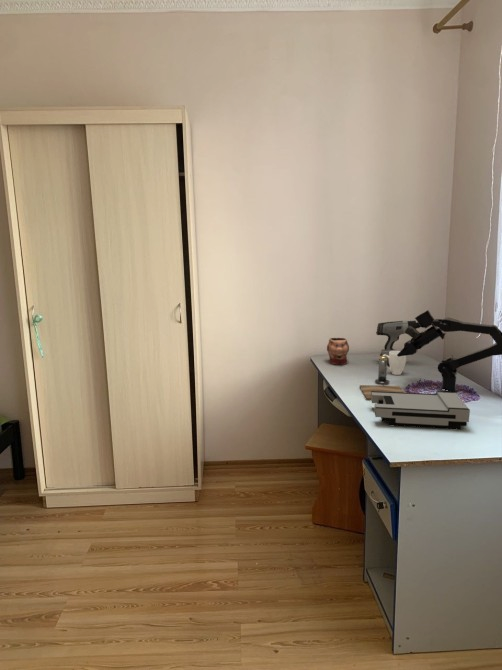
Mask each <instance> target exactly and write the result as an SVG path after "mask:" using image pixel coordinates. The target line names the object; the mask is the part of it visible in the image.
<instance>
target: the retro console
mask: <svg viewBox="0 0 502 670" xmlns="http://www.w3.org/2000/svg"><path fill="white" fill-rule="evenodd" d="M370 402H371V404H374V411H373V413H374V416H375V418H380V419H381V422H383V423H384V422H387V424H388V426H389V425H394V426H393V427H402V428H403V427H404V428H407V427H408V428H422V429H424V428H425V429H441V430H442V429H443V430H455V431H456V430H457V431H458V430H461V429H462V428H461V427H467V426H468V424H467V423H469V422H470V413H471V409H470V408H469V407H468V406H467V404H465V403H464V401H463V400H462V399H461V398H460V397H459V395H458V394H457V393H456V391H443V390H441V391H439V390H437V391H436V393H422V392H421V393H419V392H417V393H416V392H405V393H401V392H379V391H371V400H370Z"/></svg>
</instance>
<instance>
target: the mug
mask: <svg viewBox="0 0 502 670" xmlns="http://www.w3.org/2000/svg"><path fill="white" fill-rule="evenodd" d="M400 351H401V350H397V351H390V352H389V356H388V355H383V356H387V357H388V359H389V365H390V366H387V370H390V372H391V374H392V375H393V376H394V375H395V376H401V374H402V373H403V370H404V368H405V366H406V362H407V355H406V356H400V357H398V356H397V354H398V353H399V352H400Z"/></svg>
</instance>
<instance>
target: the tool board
mask: <svg viewBox="0 0 502 670" xmlns="http://www.w3.org/2000/svg"><path fill="white" fill-rule="evenodd" d="M359 390H360V391H361V393H362V395H363V397H364V399H365V401H371V391H379V392H401V393H406V392H405V390H403V389H402V387H401V386H400V385H378V384H376V385H374V384H373V385H371V384H370V385H369V384H368V385H367V384H364V385H363V384H362V385H361V384H360V385H359Z"/></svg>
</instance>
